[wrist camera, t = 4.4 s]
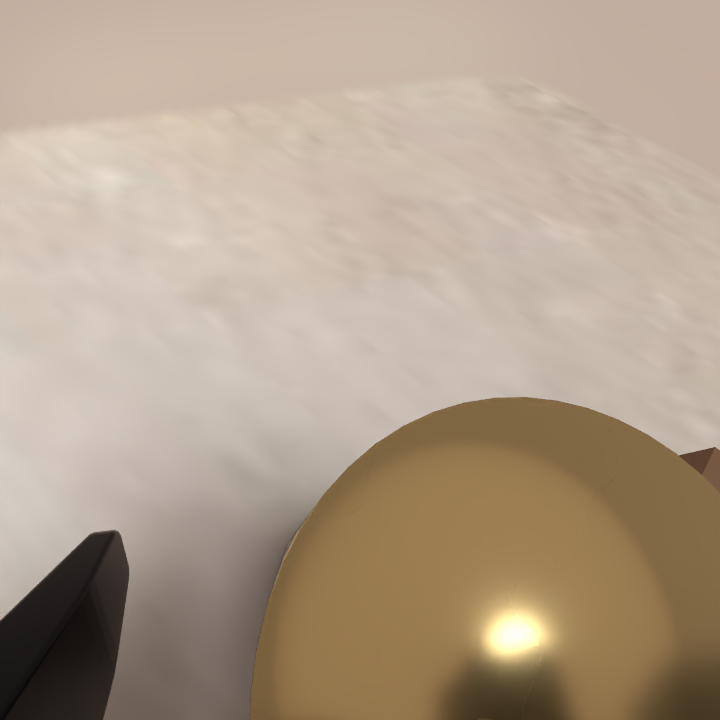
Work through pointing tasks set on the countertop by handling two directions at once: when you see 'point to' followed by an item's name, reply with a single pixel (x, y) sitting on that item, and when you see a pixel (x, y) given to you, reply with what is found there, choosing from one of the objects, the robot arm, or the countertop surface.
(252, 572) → the countertop surface
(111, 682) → the robot arm
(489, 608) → the grey and gold cylinder
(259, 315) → the countertop surface
